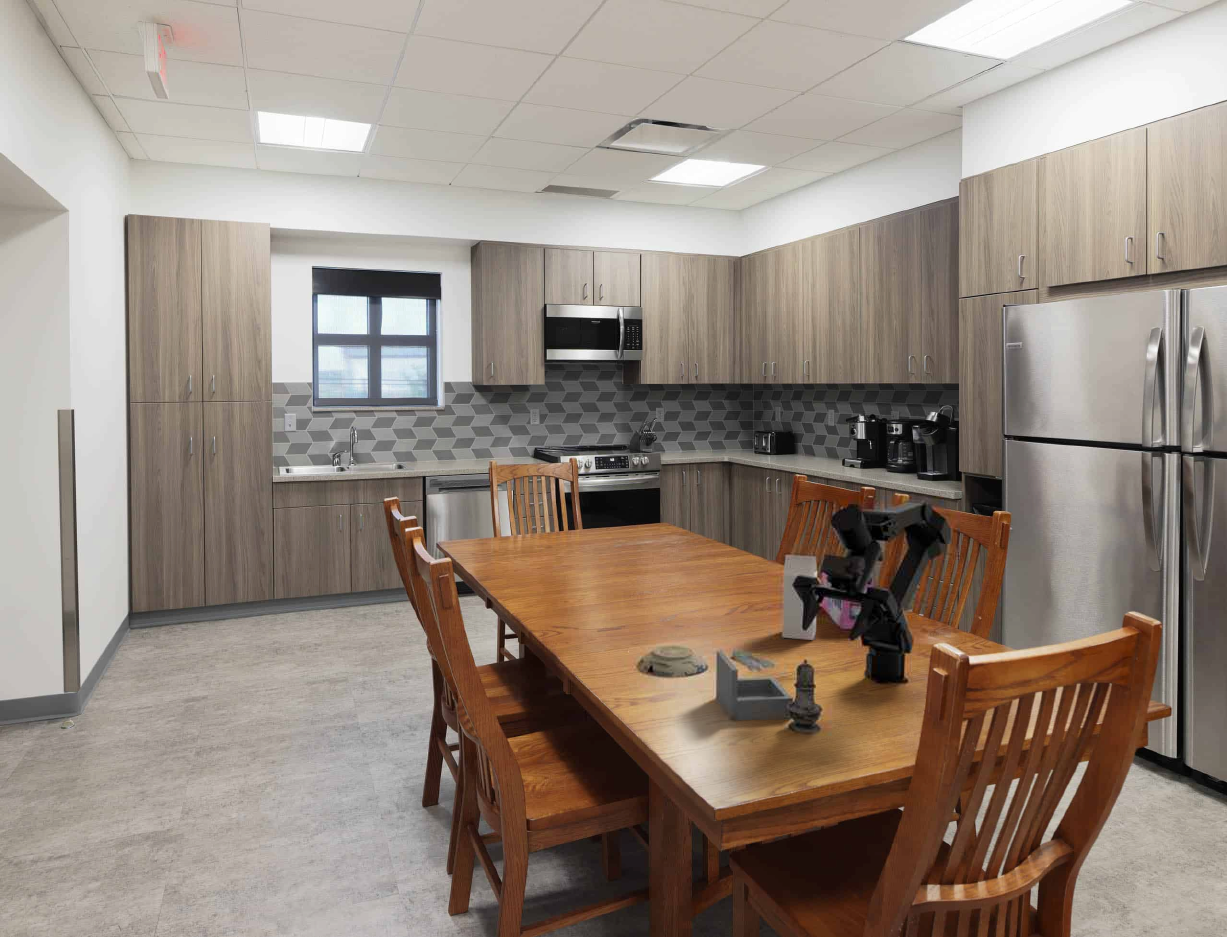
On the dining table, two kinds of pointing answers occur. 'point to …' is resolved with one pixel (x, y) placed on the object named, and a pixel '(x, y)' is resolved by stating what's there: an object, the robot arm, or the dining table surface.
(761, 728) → the dining table surface
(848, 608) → the gum box
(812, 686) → the salt shaker
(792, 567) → the milk carton
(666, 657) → the decorative bowl
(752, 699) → the shaker rack
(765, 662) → the leaf
